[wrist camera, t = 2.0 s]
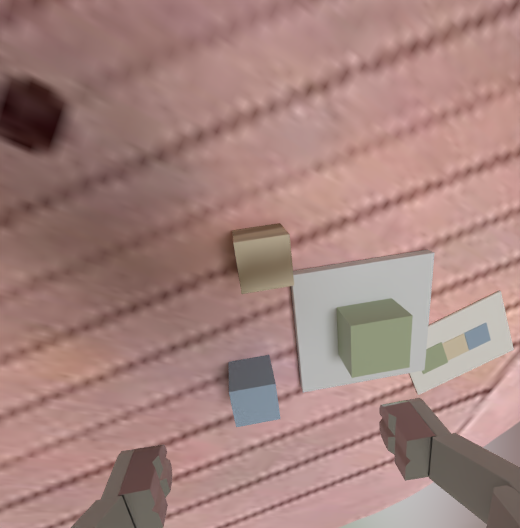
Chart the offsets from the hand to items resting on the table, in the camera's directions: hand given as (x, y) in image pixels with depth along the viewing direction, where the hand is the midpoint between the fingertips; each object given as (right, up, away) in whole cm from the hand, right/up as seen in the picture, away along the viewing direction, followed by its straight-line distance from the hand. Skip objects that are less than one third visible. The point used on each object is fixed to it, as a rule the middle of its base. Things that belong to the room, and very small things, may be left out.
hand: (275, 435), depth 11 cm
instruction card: (+25, -4, +27) cm, 37 cm away
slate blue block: (-2, -7, +25) cm, 27 cm away
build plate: (+12, -1, +24) cm, 27 cm away
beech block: (-1, +8, +20) cm, 22 cm away
